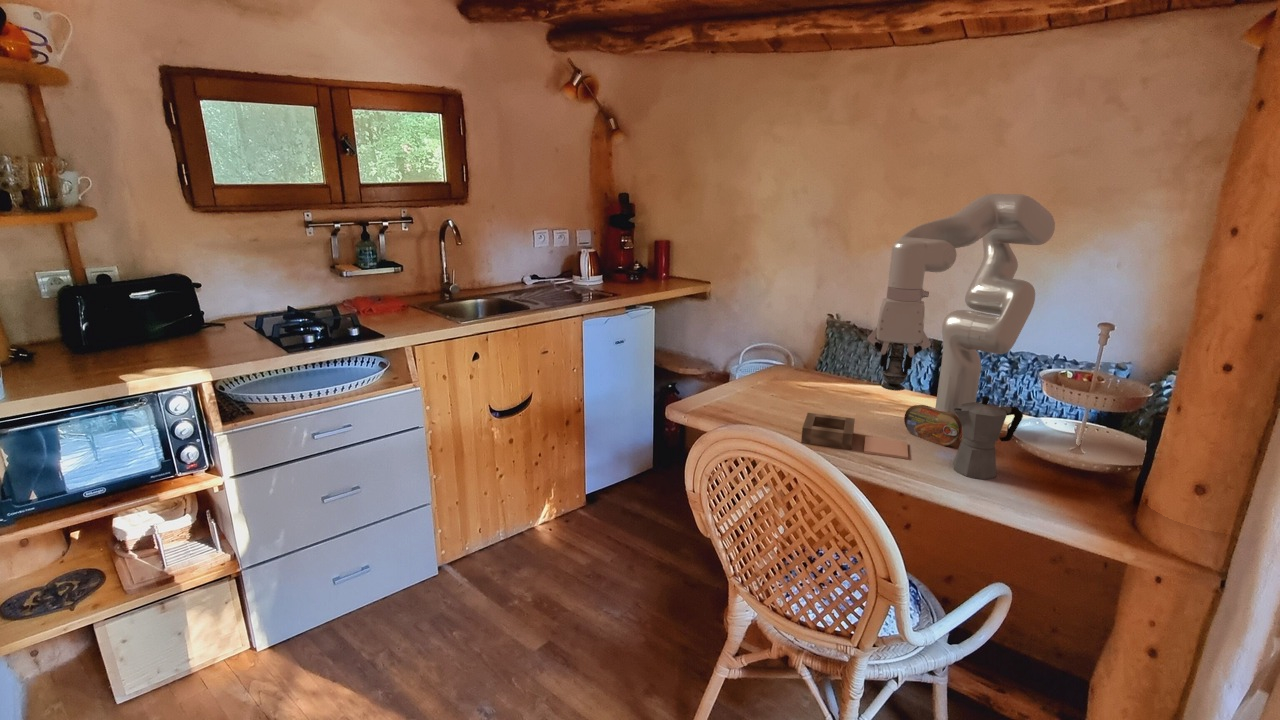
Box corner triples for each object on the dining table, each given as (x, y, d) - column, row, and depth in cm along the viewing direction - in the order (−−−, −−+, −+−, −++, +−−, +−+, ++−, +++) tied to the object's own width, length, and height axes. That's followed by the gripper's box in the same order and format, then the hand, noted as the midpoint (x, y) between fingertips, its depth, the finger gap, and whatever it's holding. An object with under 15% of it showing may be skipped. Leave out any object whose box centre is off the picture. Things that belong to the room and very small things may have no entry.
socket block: (853, 432, 169) (854, 418, 168) (851, 449, 158) (852, 434, 157) (806, 426, 173) (807, 412, 172) (801, 442, 162) (802, 427, 161)
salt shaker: (874, 384, 157) (880, 337, 154) (894, 382, 159) (899, 335, 156) (891, 392, 152) (897, 342, 148) (911, 389, 154) (917, 340, 150)
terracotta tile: (906, 444, 162) (907, 441, 162) (907, 459, 153) (908, 456, 153) (864, 438, 166) (865, 436, 165) (863, 452, 157) (863, 450, 156)
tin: (901, 431, 171) (905, 401, 169) (909, 429, 173) (912, 399, 170) (955, 450, 159) (960, 418, 157) (962, 448, 161) (967, 416, 158)
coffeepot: (954, 479, 143) (966, 402, 138) (936, 462, 152) (946, 389, 147) (1024, 480, 143) (1038, 403, 138) (1001, 463, 152) (1014, 390, 147)
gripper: (942, 295, 150) (932, 370, 155) (866, 290, 156) (858, 363, 160) (945, 300, 143) (934, 378, 148) (865, 294, 149) (857, 371, 154)
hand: (895, 369), depth 154 cm, fingers closed on salt shaker, 4 cm apart
